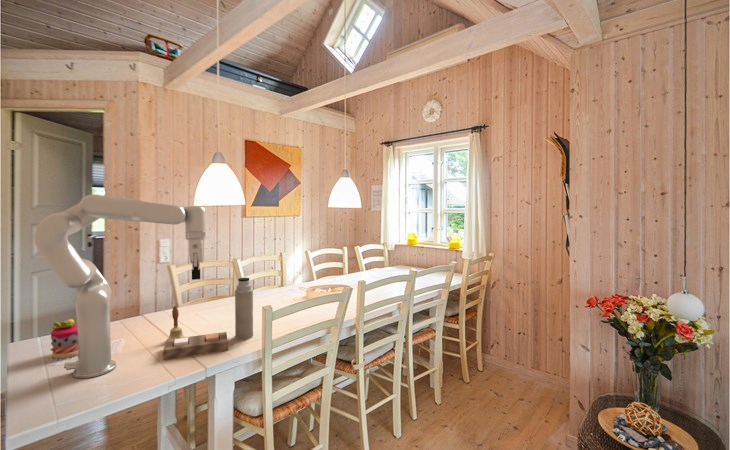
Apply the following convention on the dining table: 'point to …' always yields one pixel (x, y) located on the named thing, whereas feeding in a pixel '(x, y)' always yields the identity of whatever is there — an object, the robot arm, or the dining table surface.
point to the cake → (64, 340)
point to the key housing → (195, 346)
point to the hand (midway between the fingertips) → (196, 279)
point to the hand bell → (175, 326)
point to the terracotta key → (212, 337)
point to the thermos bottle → (243, 310)
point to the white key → (181, 341)
